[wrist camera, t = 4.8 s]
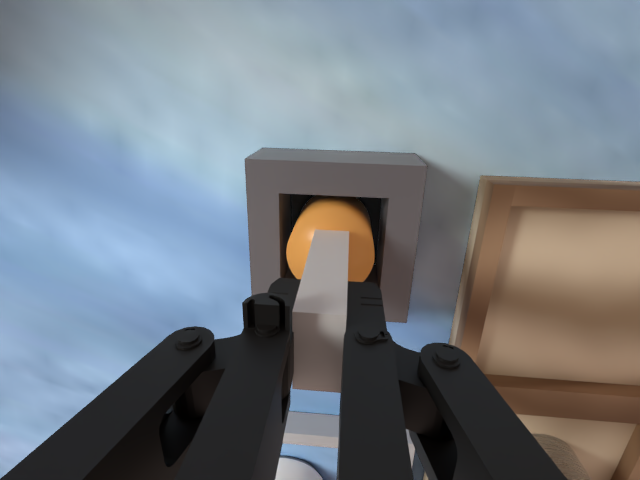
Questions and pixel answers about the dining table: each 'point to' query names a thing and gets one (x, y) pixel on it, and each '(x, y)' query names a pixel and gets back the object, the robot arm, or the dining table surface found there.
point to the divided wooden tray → (559, 311)
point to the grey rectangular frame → (319, 431)
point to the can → (295, 470)
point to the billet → (562, 457)
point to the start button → (339, 217)
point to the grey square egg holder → (337, 180)
